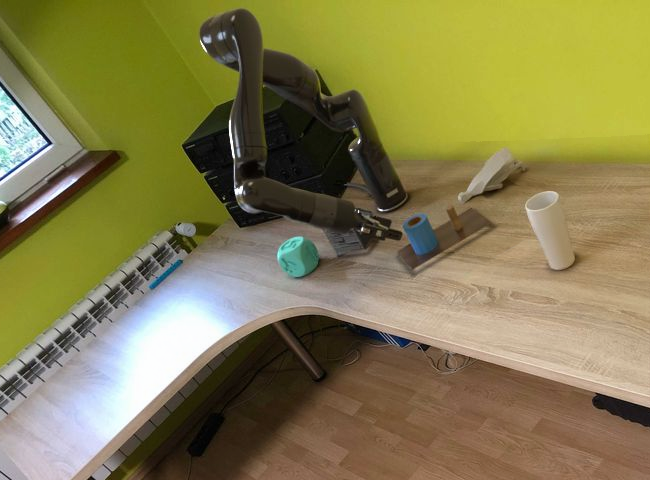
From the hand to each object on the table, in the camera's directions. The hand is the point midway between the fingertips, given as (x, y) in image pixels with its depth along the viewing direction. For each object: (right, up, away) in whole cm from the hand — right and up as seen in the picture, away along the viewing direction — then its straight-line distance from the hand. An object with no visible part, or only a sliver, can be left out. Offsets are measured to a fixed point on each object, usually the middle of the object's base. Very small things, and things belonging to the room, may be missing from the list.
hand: (395, 230), depth 150 cm
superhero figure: (+25, +14, +17) cm, 33 cm away
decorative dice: (-26, -6, +27) cm, 38 cm away
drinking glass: (+35, -11, -19) cm, 42 cm away
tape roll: (+7, -3, +5) cm, 9 cm away
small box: (-11, -1, +23) cm, 26 cm away
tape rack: (+12, -2, +6) cm, 13 cm away
